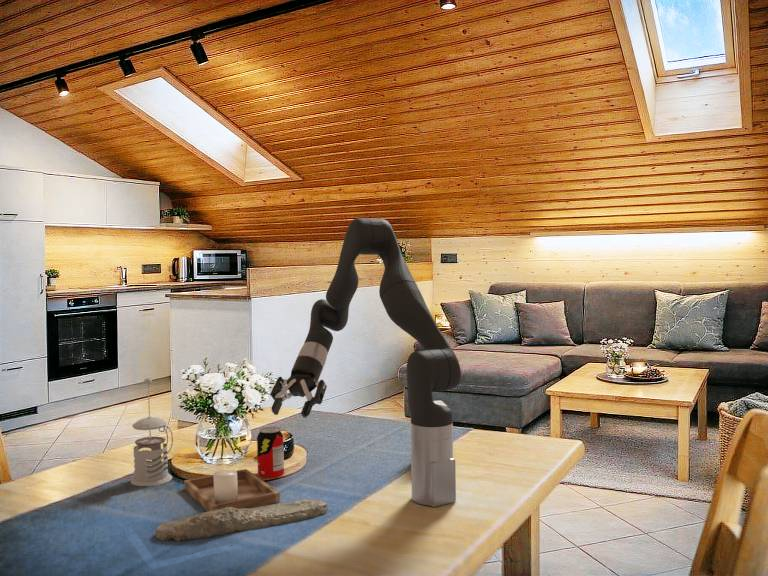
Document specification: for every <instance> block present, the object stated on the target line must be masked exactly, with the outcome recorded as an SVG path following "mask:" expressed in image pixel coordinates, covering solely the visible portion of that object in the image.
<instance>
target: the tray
mask: <svg viewBox="0 0 768 576" xmlns="http://www.w3.org/2000/svg"><path fill="white" fill-rule="evenodd" d="M236 471H237V483H238V500H233V501H228V502H223V503H218V504H215V503H214V478H213V474H212V475H206V476H202V477H201V476H199V477H195V478H190V479H185V480H183V484H184V485H183V486H184V487H183V489H184V490H185V492H186V493H187V494H189V495H190V496H191V497H192V498H193V499H195V501H196V502H197V503H198V504H199V505H201V506H202V507H203V508H204V510H206V512H208V511H213V510H217V509H222V508H225V507H233V508H236V509H240V508H255V507H260V506H266V505H272V504H277V503H279V502H281V498H280V497H281V492H280V491H278V490H277V489H275V488H274V487H273V486H271V485H270V484H268V483H267V482H266V481H264V480H263V479H261V477H259V476H256V475H255V474H254V473H252V472H251V471H249V470H248V469H247V468H245V469H244V468H243V469H239V470H236Z"/></svg>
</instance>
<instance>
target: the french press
mask: <svg viewBox="0 0 768 576" xmlns="http://www.w3.org/2000/svg"><path fill="white" fill-rule="evenodd" d="M143 383H144V384H145V385H146V384H147V393H148V394H147V395H148V396H147V399H148V401H147V402H148V417H144V418H141V419H138V420H137V421H136V422H134V423H132V425H131V426H132V428H133V429H135V430H138V431H153V430H157V429H158V431H159V432H160V433H164V432H165V433H166V438H165V437H164V436H151V432H149V436H145V437H142V438H138V439H136V440H135V441H134V444H135V446H134V447H133V463H134V465H133V467H134V468H133V469H134V470H133V471H134V476H133V478H131V481H130V483H131V485H134V486H139V487H151V486H158V485H159V486H160V485H161V484H165V483H168V482H170V481H172V479H173V476H172V475H171V474H170V473H169V466H168V465H169V464H168V463H169V462H168V457H169V456H168V454H170V451H171V450H172V447H173V443H174V435H173V432H172V430H171V428H170V427H169V426H167V424H168V422H167V421H166V420H164V419H162V418H160V417H152V416H151V412H150V411H151V410H150V385H149V384H153V379H152V378H151V377H150V378H149V377H146V378H145V379H144V381H143ZM161 428H163V430H161ZM167 429H168V430H169V432H170V434H171V444H170V448H169V450H168V442H169V435H168V430H167ZM165 441H166V443H165ZM161 444H162V445H161ZM141 449H144V450H141ZM145 449H150V450H145ZM162 460H163V461H162ZM162 465H163V466H162Z"/></svg>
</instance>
